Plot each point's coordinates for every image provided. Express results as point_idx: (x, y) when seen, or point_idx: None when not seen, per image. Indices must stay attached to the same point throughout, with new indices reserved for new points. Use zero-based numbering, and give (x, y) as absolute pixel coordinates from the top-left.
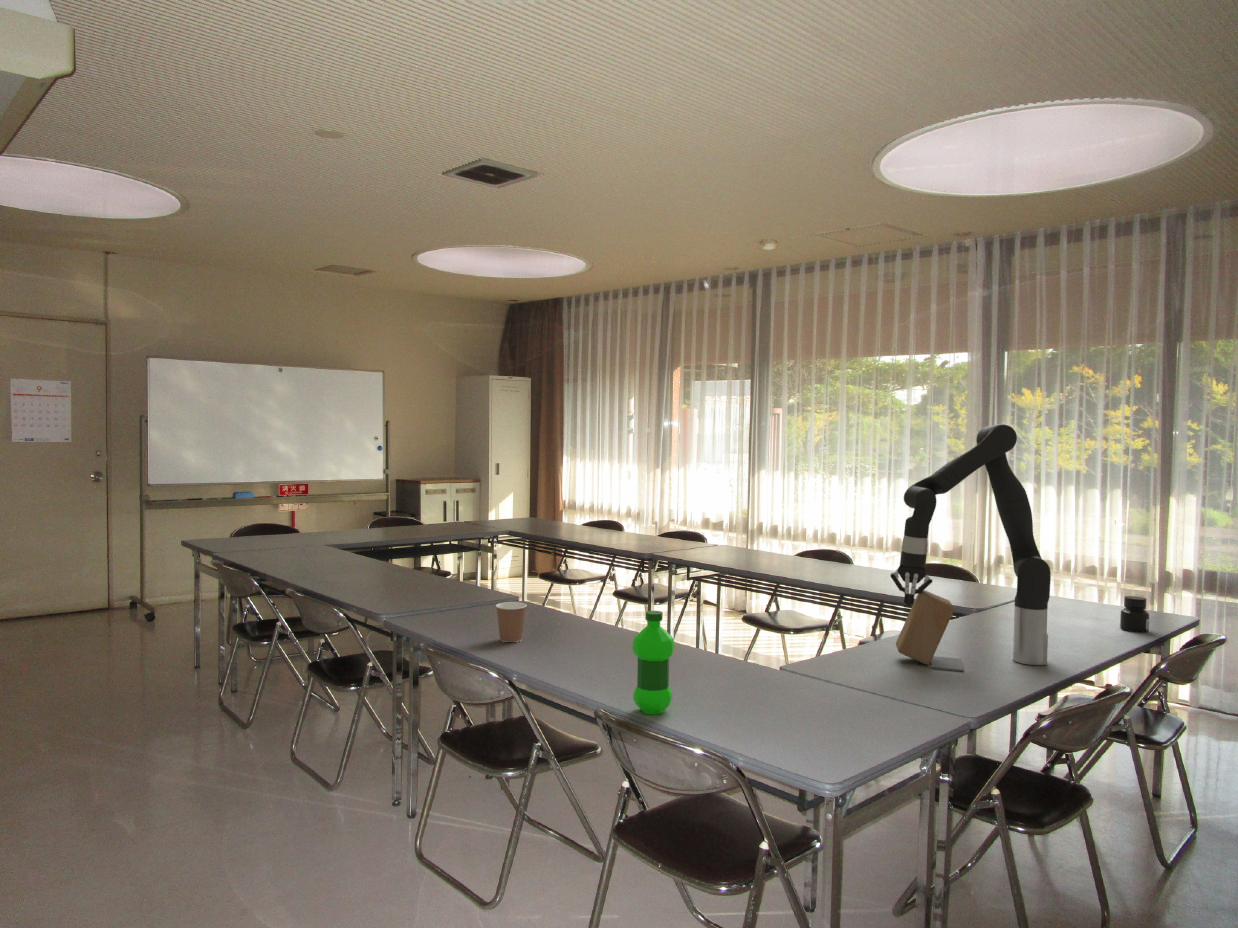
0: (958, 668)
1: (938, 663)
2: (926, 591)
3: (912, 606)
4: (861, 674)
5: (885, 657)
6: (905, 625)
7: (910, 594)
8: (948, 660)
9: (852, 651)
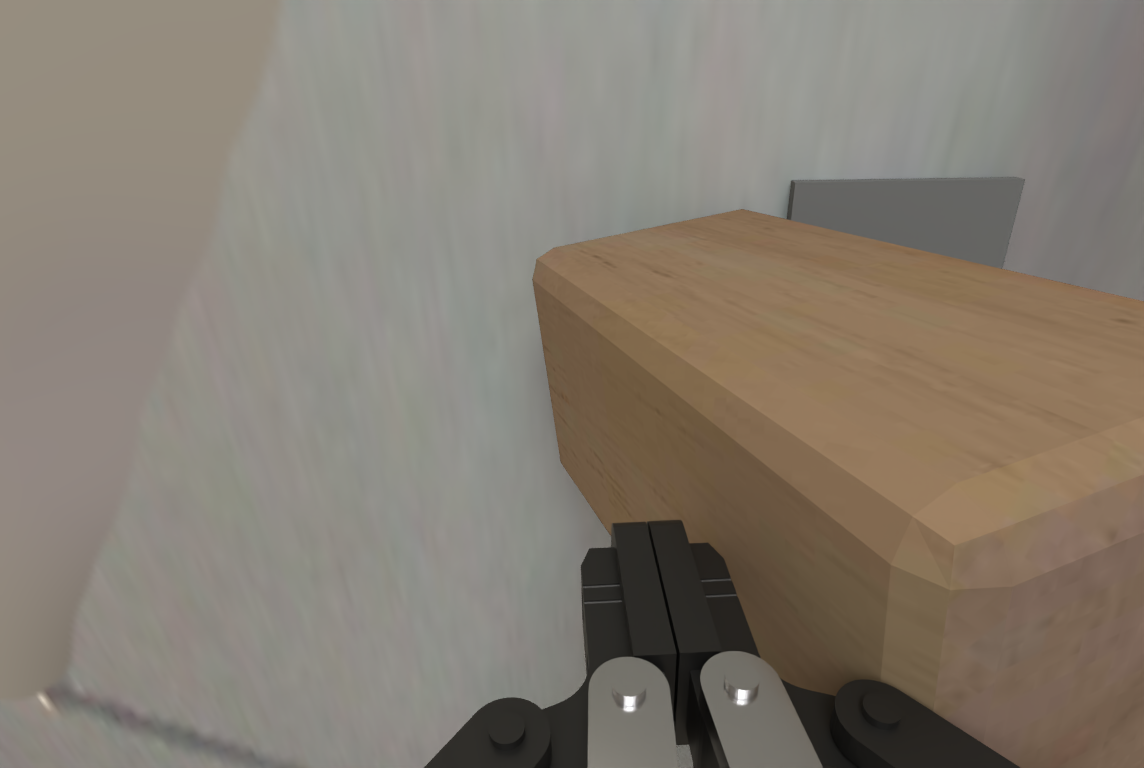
0: None
1: None
2: (1045, 631)
3: (704, 434)
4: (405, 660)
5: (477, 302)
6: (607, 419)
7: (688, 731)
8: None
9: (236, 227)
